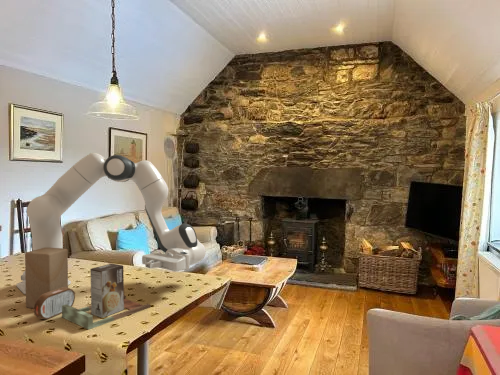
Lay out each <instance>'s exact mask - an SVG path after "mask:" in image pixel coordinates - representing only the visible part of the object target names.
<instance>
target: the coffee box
mask: <svg viewBox="0 0 500 375" xmlns="http://www.w3.org/2000/svg"><path fill="white" fill-rule="evenodd" d="M124 284H125V281H124V265H121V264H118V263H117V264H116V263H108V264H104V265H100V266H95V267H92V268H90V298H91V299H90V301H91V302H90V306H91V310H90V311H91V312H90V313H91V314H90V315H93V316H96V317H99V318H102V319H105V317H106V318H107V317H108V316H109V317H110V316H111V315H113V314H114V315H115V314H117V313H119V312H122V311H124V310H125V308H124V296H125V288H124V286H125V285H124Z"/></svg>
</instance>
